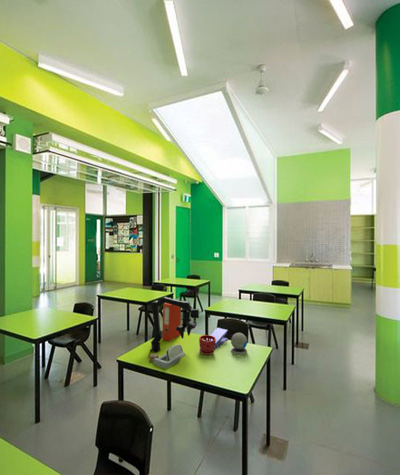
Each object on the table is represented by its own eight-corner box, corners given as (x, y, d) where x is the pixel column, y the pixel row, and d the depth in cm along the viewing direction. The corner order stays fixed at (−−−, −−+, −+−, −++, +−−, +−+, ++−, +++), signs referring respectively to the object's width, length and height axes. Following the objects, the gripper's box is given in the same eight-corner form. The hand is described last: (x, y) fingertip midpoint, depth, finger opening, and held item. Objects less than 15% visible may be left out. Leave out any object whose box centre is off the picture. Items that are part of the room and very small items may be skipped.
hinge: (171, 362, 198) (168, 348, 200) (167, 363, 200) (164, 349, 202) (185, 355, 212) (182, 342, 214) (181, 355, 214) (178, 342, 216)
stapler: (228, 340, 246) (228, 329, 246) (213, 350, 222) (214, 338, 222) (217, 337, 252) (217, 326, 252) (201, 347, 228) (202, 335, 228)
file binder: (180, 335, 254) (181, 301, 254) (169, 341, 239) (170, 305, 239) (173, 333, 258) (174, 300, 258) (162, 339, 243) (163, 303, 243)
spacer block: (149, 361, 199) (149, 356, 199) (152, 358, 204) (152, 353, 204) (155, 362, 198) (155, 357, 198) (158, 359, 203) (158, 354, 203)
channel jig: (153, 364, 195) (153, 358, 195) (167, 356, 208) (168, 351, 208) (166, 368, 188) (166, 363, 188) (179, 360, 202) (179, 355, 202)
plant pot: (196, 354, 213) (197, 339, 213) (202, 348, 225) (202, 333, 226) (212, 357, 209) (213, 341, 209) (217, 350, 221) (217, 336, 221)
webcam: (236, 347, 230) (237, 329, 230) (250, 351, 221) (250, 333, 221) (227, 351, 220) (228, 333, 220) (241, 356, 212) (241, 337, 212)
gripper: (187, 322, 205) (186, 343, 205) (200, 316, 221) (200, 336, 221) (175, 319, 211) (175, 339, 211) (189, 314, 227) (189, 333, 227)
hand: (185, 337), depth 217 cm, fingers open, 8 cm apart
